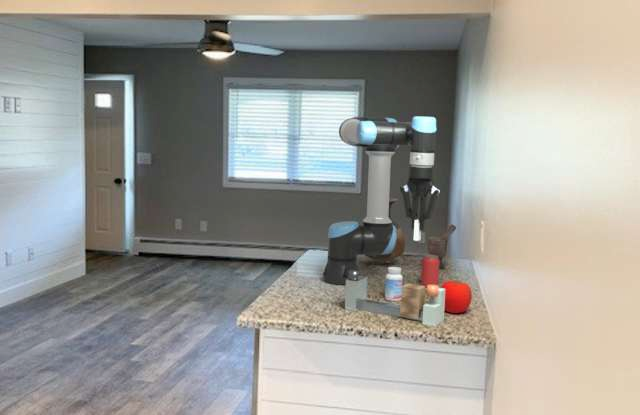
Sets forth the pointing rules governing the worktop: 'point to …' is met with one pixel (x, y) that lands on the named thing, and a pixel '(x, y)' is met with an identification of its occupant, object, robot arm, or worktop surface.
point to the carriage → (412, 300)
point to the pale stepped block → (434, 309)
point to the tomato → (456, 296)
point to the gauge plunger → (432, 291)
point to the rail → (357, 300)
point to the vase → (399, 244)
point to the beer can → (430, 270)
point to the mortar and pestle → (440, 245)
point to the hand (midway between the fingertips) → (417, 239)
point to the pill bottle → (393, 284)
